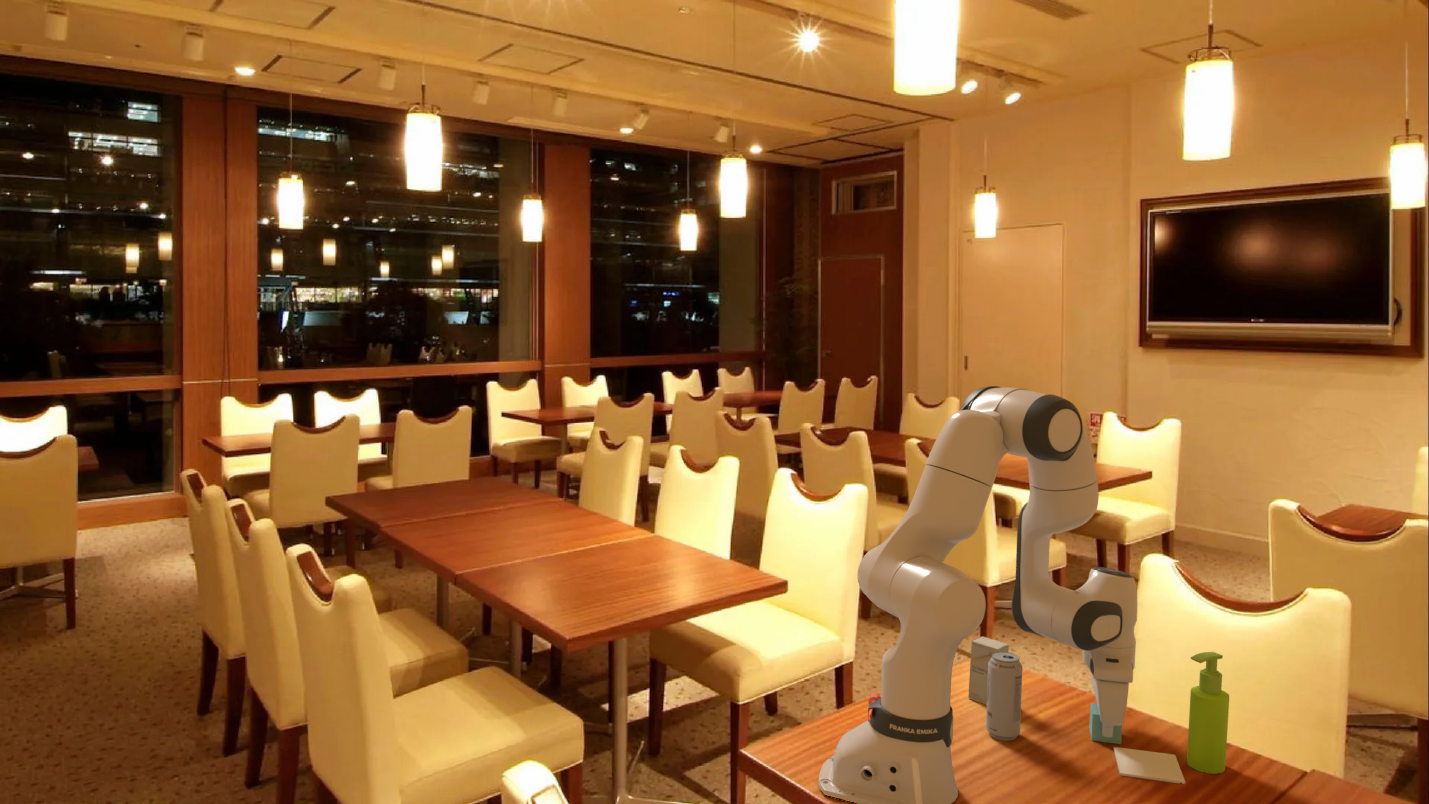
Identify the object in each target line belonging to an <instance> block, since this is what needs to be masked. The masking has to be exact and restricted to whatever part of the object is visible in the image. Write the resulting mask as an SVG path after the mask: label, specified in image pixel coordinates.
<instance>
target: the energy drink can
mask: <svg viewBox="0 0 1429 804" xmlns="http://www.w3.org/2000/svg"><path fill="white" fill-rule="evenodd" d="M1022 684H1023V664H1022V663H1021V661H1020V656H1019V655H1018V654H1016V653H1012V652H1009V651H1008V652H995V653H993V654H992V658H991V659H990V661H989V662H988V685H987V705H986V720H985V722H986V724H985V726H986V727H985V729H986V730H987V732H988V734H989V736H990V737H991V738H993V739H996V740H998V741H1004V742H1007V741H1010V742H1011V741H1015V740H1016V739H1017V736H1019V735H1020V733H1021V721H1022V720H1021V718H1022V717H1021V716H1022V715H1021V713H1022V687H1023V685H1022Z"/></svg>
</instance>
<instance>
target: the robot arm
mask: <svg viewBox="0 0 1429 804" xmlns="http://www.w3.org/2000/svg"><path fill="white" fill-rule="evenodd" d="M963 401H964V402H963V403H962V405H961V406H960V407H961V408H960V410H957V411H955V412H953V413H952V414H951V415H949V417H948V418H947V419H946V422H944V424H943V426H942V428H941V430H940V431H939V433H938V435H937V437H936V439H935V441H934V443H933V445H932V447H931V449H930V452H929V455H928V457H927V459H926V462H925V465H924V468H923V470H922V473H921V476H920V479H919V482H918V483H917V486H916V489H915V492H914V495H913V497H912V499H911V503H910V505H909V507H908V509H907V510H906V512H905V513H904V516H903V517H902V519H901V520H900V522H899V523H898V525H897V526H896V528H895V529H894V530H893V531H892V532H891V534H890V535H889V536H888V537H886V539H885V540H884V541H883V542H882V543H880V544H879V545H877V546H875V547H873V548H871V549H869V550H868V551H867V553H866V554H865V555H864V556H863V557H862V558H861V560H860V563H859V564H858V568H857V583H858V586H859V587H860V590H861V592H862V593H863V594H864V595H866V598H868V599H869V600H870V601H871V602H872V603H873V604H874V605H875V606H876V607H878V608H879V609H881V610H882V611H884V612H887V613H888V614H890V615H892V616H894V617H896V618H898V619H899V621H900V632H899V636H898V640H897V642H896V644H894V645H893V646H891V647H890V648H889V649H886V652H884V654H883V656H882V659H881V676H880V677H881V683H880V684H881V685H880V688H881V689H880V693H878V692H873V693H871V694H870V695H869V698H868V701H867V703H868V709H867V720H866V721H864V722H862V723H861V724H859V725H857V726H856V727H854V728H851V729H850V730H848V731H846V732H845V733H844V734H843V735H842V737H841V738H840V740H839V741H838V743H837V745H836V747H835V751H834V753H833V755H832V756H830V757H829V758H828V759H827V760H825V761H824V762H823V764H822V766H821V767H820V771H819V775H818V787H819V786H820V788H819V790H820V789H821V790H822V791H823V792H824V793H825V794H827V795H833V796H835V797H838V798H843V799H846V800H849V801H852V802H856V803H858V804H953V803H954V802H955V801H956V799H957V798H958V795H959V789H958V787H957V782H956V779H955V775H954V774H955V773H954V765H953V760H952V750H951V747H952V746H951V745H952V742H953V738H954V737H953V736H954V716H953V715H954V714H953V707H952V706H951V691H952V676H953V675H952V673H953V665H954V660H955V657H956V654H957V651H958V649H959V647H960V645H961V643H963V641H964V640H965V639H966V638H969V636H971V635H973V634H974V633H975V632H976V631H977V629H978V628H979V627H980V625H981V624H982V621H983V619H984V617H985V613H986V607H987V605H986V604H987V603H986V597H985V594H984V591H983V590H982V589H983V588H982V587H981V586H980V585H979V584H978V583H977V582H975V580H974V579H972V578H971V577H970V576H969V575H967V574H966V573H965V572H963V571H962V570H961V569H959V568H956V567H954V566H951V565H949V564H946V563H945V562H944V561H945V559H946V558H947V557H948V555H949V554H950V552H951V551H952V550H953V549H954V548H955V547H956V546H957V545H958V544H959V543H960V542H963V541H964V540H967V539H969V538H972V537H973V536H974V535H975V534H976V532H977V530H978V529H979V526H980V523H981V520H982V517H983V515H984V512H985V509H986V506H987V503H988V500H989V498H990V495H991V491H992V488H993V486H994V483H995V480H996V476H997V474H998V469H999V466H1000V462H1001V460H1002V459H1003V458H1004V457H1005V455H1007V454H1008V455H1013V456H1016V457H1020V458H1021V457H1023V458H1027V468H1028V473H1027V474H1028V481H1029V496H1028V500H1027V502H1026V503H1024V504H1023V506H1022V507H1021V509H1020V512H1019V515H1018V521H1017V530H1016V531H1017V533H1016V552H1015V554H1016V558H1015V562H1016V563H1015V579H1014V580H1015V583H1014V587H1013V592H1012V597H1011V602H1010V603H1011V606H1010V607H1011V614H1012V616H1013V619H1014V623H1016V625H1017V626H1018V627H1019V628H1020V629H1021V630H1022V631H1024V632H1027V633H1030V634H1034V635H1036V636H1037V635H1038V636H1042V637H1045V638H1048V639H1050V640H1052V641H1056V642H1058V643H1060V644H1064V645H1067V646H1069V647H1072V648H1075V649H1078V650H1081V651H1082V662H1083V664H1084V665H1086V666H1087V668H1088V669H1089V672H1090V673H1091V684H1092V688H1093V691H1094V692H1093V693H1094V696H1095V697H1094V698H1095V700H1096V704H1097V706H1098V710H1099V715H1100V719H1101V722H1102V735H1103V736H1104V737H1112V736H1113V728H1114V725H1119V726H1120V725H1122V726H1123V724H1124V722H1125V721H1124V720H1125V717H1126V712H1127V711H1126V710H1127V705H1128V698H1129V696H1128V695H1129V685H1130V684H1132V683H1133V681H1134V670H1135V668H1136V667H1135V666H1136V665H1135V663H1136V649H1137V647H1136V644H1137V643H1136V641H1137V640H1136V635H1135V626H1136V624H1137V621H1138V591H1137V590H1138V589H1137V585H1136V580H1135V578H1134V577H1133V576H1132V575H1131V574H1129V573H1128V572H1126V571H1125V572H1124V571H1122V570H1118V569H1113V568H1110V567H1105V566H1104V567H1103V566H1095V567H1092V568H1091V569H1090V571H1089V574H1088V578H1087V580H1086V582H1085V583H1084V584H1083V585H1082V586H1080V587H1079V588H1077V589H1075V590H1074V589H1071V588H1067V587H1064V586H1060V585H1058V584H1056V583H1055V582H1054V580H1053V579H1051V576H1050V574H1049V569H1050V568H1049V566H1050V565H1049V564H1050V547H1051V546H1050V545H1051V538H1052V536H1053V535H1055V534H1060V533H1066V532H1069V531H1072V530H1075V529H1077V528H1079V527H1082V526H1084V525H1085V524H1086V523H1088V522H1089V521H1090V520H1091V519H1092V518H1093V516H1094V515H1095V513H1096V511H1097V510H1098V507H1099V506H1098V505H1099V495H1100V494H1099V484H1098V475H1097V467H1096V461H1095V456H1094V452H1093V448H1092V445H1091V444H1092V443H1091V441H1090V440H1091V439H1090V438H1089V435H1088V432H1087V429H1086V427H1085V426H1084V425H1083V420H1082V416H1081V414H1080V411H1079V410H1078V408H1077V407H1076V405H1075V404H1074V403H1073V402H1071V401H1070V400H1068V399H1066V398H1064V397H1062V396H1059V395H1055V394H1052V393H1051V394H1047V393H1043V392H1039V391H1032V390H1030V389H1027V388H1020V387H1000V386H998V385H997V386H996V385H992V386H984V387H980V388H978V389H975V390H973V391H972V392H971V393H969V395H968V396H967V397H966V398H965V400H963ZM821 790H820V791H821Z"/></svg>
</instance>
